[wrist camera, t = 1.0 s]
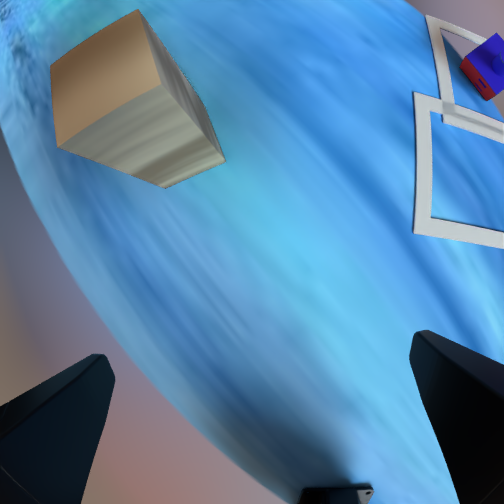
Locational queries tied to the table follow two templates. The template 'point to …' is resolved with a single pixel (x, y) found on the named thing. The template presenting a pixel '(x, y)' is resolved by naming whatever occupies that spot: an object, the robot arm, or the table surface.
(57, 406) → the robot arm
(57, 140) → the beech pillar
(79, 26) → the table surface
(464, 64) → the toy building block
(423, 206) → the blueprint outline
